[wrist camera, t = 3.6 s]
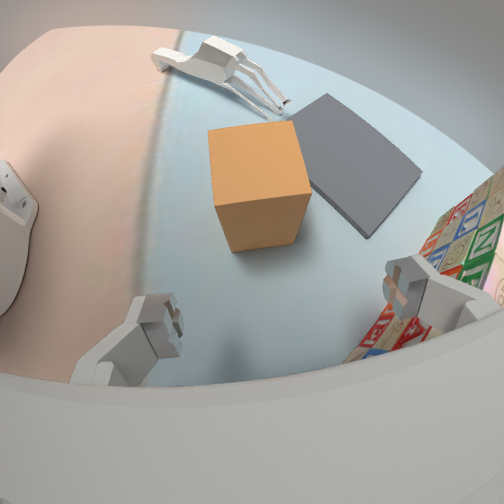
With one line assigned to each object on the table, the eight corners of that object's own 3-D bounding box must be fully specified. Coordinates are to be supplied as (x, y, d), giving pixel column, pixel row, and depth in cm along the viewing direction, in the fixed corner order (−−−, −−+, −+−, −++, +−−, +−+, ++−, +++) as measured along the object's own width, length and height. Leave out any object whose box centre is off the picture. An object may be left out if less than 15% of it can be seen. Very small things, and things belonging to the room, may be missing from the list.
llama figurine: (261, 138, 33) (159, 58, 29) (300, 93, 22) (162, -1, 18) (252, 147, 33) (149, 66, 29) (289, 103, 22) (148, 6, 18)
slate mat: (260, 143, 25) (260, 138, 25) (325, 98, 27) (327, 93, 26) (366, 238, 23) (369, 236, 22) (419, 175, 24) (422, 171, 24)
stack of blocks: (356, 442, 18) (426, 515, 6) (304, 404, 20) (349, 477, 8) (476, 256, 22) (561, 214, 10) (438, 215, 23) (517, 152, 11)
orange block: (231, 252, 23) (214, 205, 14) (224, 196, 24) (207, 130, 15) (293, 243, 23) (312, 192, 14) (282, 188, 24) (292, 120, 15)
